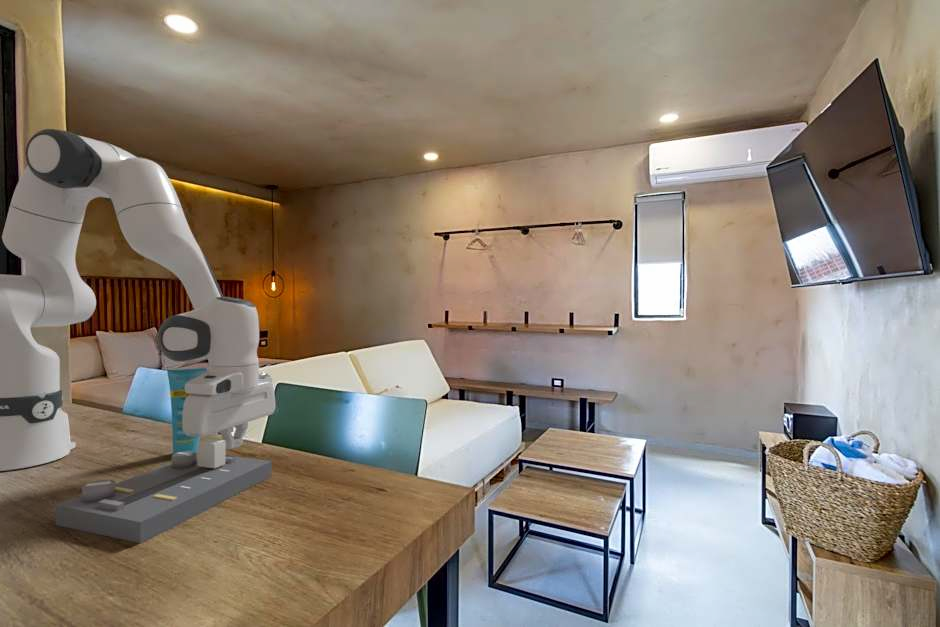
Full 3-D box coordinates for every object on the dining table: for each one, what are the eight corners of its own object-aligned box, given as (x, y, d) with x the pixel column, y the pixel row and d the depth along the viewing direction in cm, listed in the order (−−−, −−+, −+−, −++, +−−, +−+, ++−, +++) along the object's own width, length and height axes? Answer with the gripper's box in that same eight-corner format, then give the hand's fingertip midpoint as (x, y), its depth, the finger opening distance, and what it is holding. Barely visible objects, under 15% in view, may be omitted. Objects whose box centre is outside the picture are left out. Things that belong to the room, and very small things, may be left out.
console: (55, 524, 67) (55, 490, 67) (202, 466, 92) (203, 441, 92) (140, 543, 62) (140, 506, 62) (271, 476, 87) (271, 450, 87)
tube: (166, 459, 96) (167, 370, 95) (166, 453, 100) (167, 367, 99) (206, 453, 100) (207, 368, 99) (205, 447, 104) (206, 366, 103)
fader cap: (197, 466, 83) (197, 441, 83) (208, 461, 85) (208, 437, 85) (214, 468, 82) (214, 443, 82) (225, 463, 84) (225, 439, 84)
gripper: (259, 370, 100) (258, 431, 100) (176, 385, 80) (175, 462, 80) (283, 372, 98) (282, 434, 98) (204, 388, 78) (203, 466, 78)
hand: (233, 447), depth 89 cm, fingers closed
